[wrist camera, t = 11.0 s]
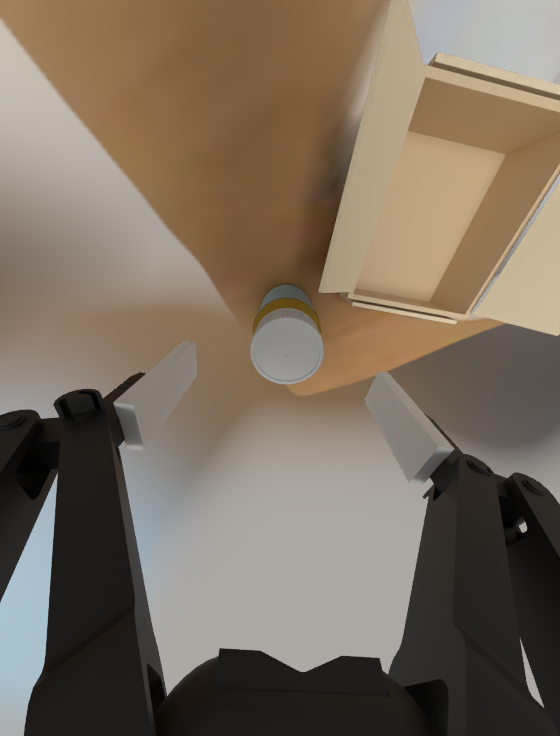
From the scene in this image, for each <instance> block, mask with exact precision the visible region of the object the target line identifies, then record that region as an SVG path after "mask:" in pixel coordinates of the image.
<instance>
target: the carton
mask: <svg viewBox="0 0 560 736" xmlns="http://www.w3.org/2000/svg"><path fill="white" fill-rule="evenodd" d="M423 65H424V64H423ZM424 69H425V73H426V76H425V79H424V82H423V85H422V88H421V91H420V94H419V97H418V100H417V103H416V106H415V109H414V113H413V116H412V119H411V122H410V125H409V128H408V131H407V134H406V137H405V140H404V143H403V146H402V149H401V152H400V155H399V158H398V161H397V164H396V167H395V170H394V173H393V176H392V179H391V182H390V185H389V188H388V191H387V194H386V197H385V200H384V203H383V206H382V209H381V212H380V215H379V218H378V221H377V224H376V227H375V230H374V233H373V236H372V239H371V242H370V245H369V248H368V251H367V254H366V257H365V260H364V263H363V266H362V269H361V272H360V275H359V278H358V281H357V284H356V287H355V290H354V292H340V293H339V295H340V296H341V297H342V298H343V299H344V300H346V301H347V302H348V303H349V304H351V305H352V306H357V307H363V308H368V309H374V310H379V311H385V312H390V313H396V314H401V315H407V316H412V317H418V318H424V319H429V320H435V321H440V322H446V323H451V324H456V322H457V320H454V319H452V318H449V317H454V318H459V319H465V320H466V319H467V318H468V316H469V315H470V313H471V312H472V310H473V308H474V307H475V305H476V304H477V302H478V301H479V299H480V297H481V296H482V294H483V293H484V291H485V290H486V288H487V287H488V285H489V283H490V282H491V280H492V279H493V277H494V276H495V274H496V272H497V271H498V269H499V268H500V266H501V265H502V263H503V261H504V260H505V258H506V257H507V255H508V254H509V252H510V250H511V249H512V247H513V246H514V244H515V243H516V241H517V240H518V238H519V236H520V235H521V233H522V232H523V230H524V229H525V227H526V225H527V224H528V222H529V221H530V219H531V218H532V216H533V215H534V213H535V211H536V210H537V208H538V207H539V205H540V204H541V202H542V200H543V199H544V197H545V196H546V194H547V193H548V191H549V189H550V188H551V186H552V185H553V183H554V182H555V180H556V179H557V177H558V175H559V174H560V85H557V84H553V83H550V82H546V81H543V80H539V79H535V78H532V77H528V76H524V75H521V74H517V73H513V72H510V71H506V70H502V69H499V68H495V67H491V66H488V65H484V64H480V63H477V62H473V61H469V60H466V59H462V58H458V57H455V56H451V55H447V54H444V53H440V52H437V54H436V55H435V56H434V58H433V59H432V60H431V61H430V63H429V64H428V65H424ZM447 316H448V317H447Z"/></svg>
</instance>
